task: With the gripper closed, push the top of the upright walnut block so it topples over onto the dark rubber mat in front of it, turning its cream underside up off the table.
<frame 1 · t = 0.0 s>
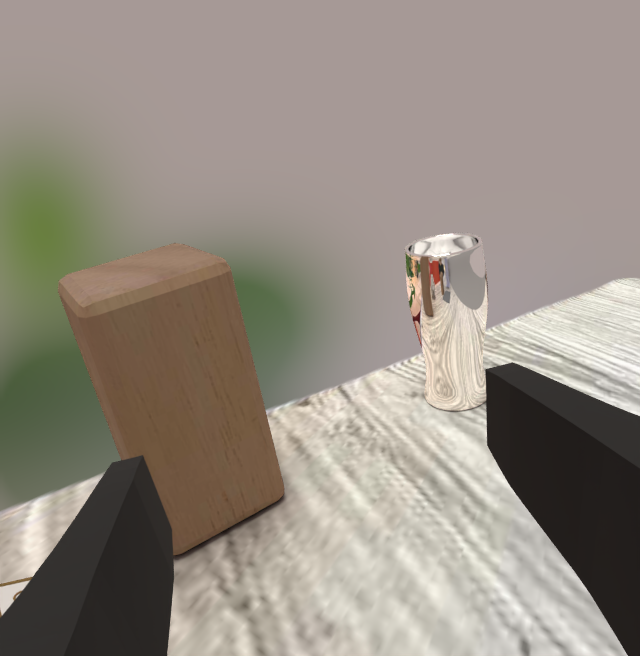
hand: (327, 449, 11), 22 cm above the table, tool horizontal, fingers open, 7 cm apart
beer glass: (456, 396, 54), on the table
block: (210, 500, 46), on the table
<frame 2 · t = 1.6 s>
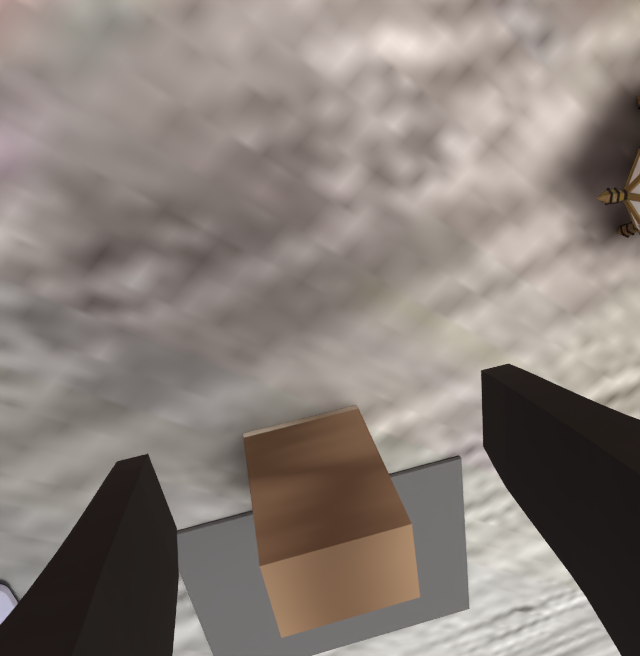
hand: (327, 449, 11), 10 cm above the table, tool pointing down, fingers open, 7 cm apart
mat: (334, 574, 28), on the table
walnut block: (307, 451, 25), on the table
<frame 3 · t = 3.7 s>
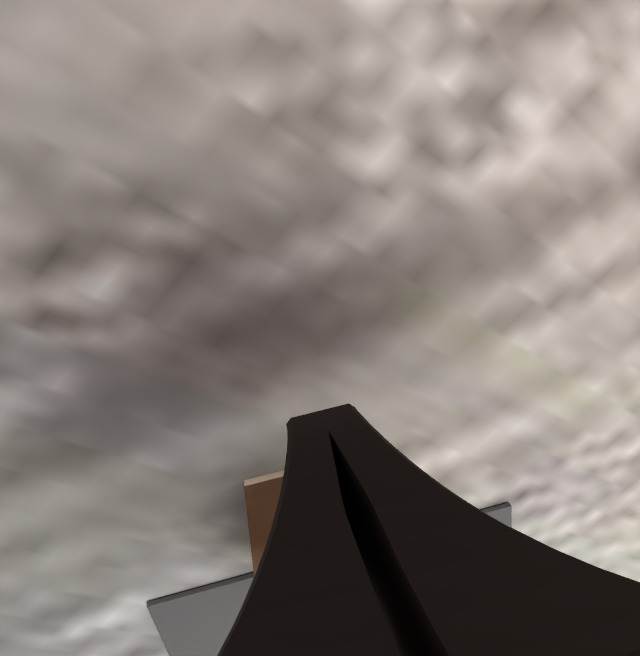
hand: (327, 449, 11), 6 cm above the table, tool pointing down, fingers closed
mat: (353, 641, 23), on the table
walnut block: (323, 500, 20), on the table
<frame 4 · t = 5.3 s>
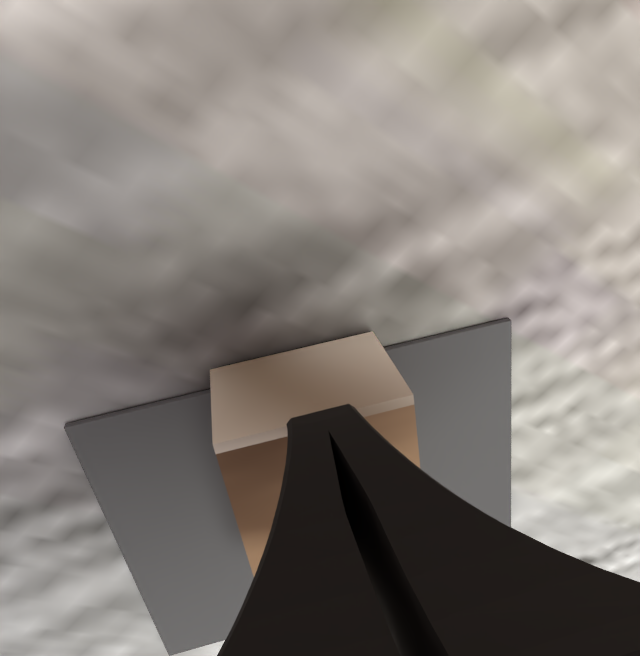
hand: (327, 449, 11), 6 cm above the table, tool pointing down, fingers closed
mat: (323, 499, 20), on the table
walnut block: (302, 380, 15), point 2 cm above the table, tilted 90°, touching mat
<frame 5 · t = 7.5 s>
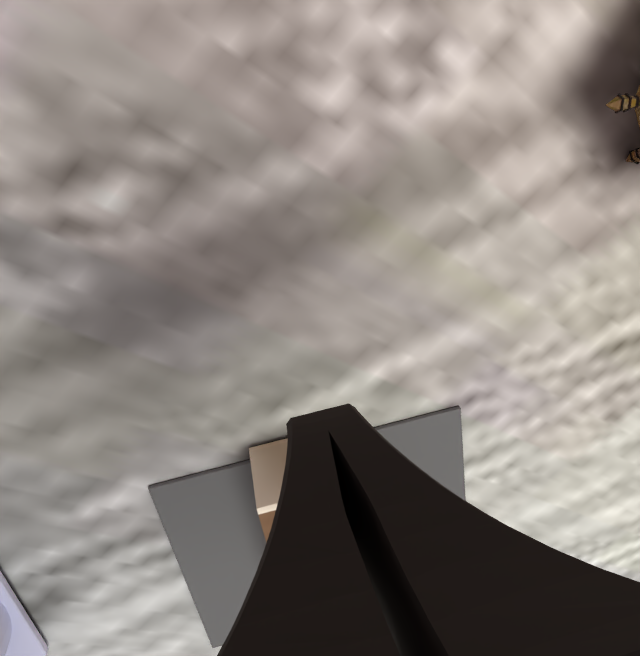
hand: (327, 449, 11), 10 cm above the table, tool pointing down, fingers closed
mat: (327, 533, 27), on the table
walnut block: (313, 460, 22), point 2 cm above the table, tilted 90°, touching mat
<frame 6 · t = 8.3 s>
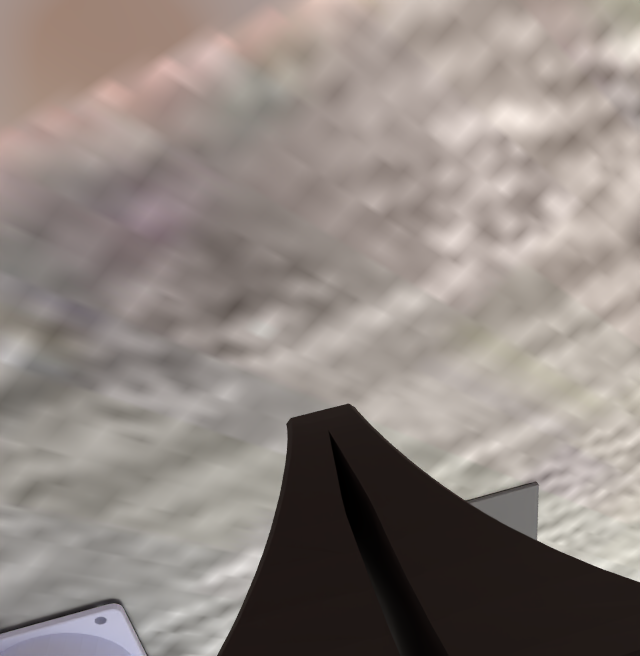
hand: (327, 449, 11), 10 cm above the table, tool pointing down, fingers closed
mat: (413, 591, 30), on the table
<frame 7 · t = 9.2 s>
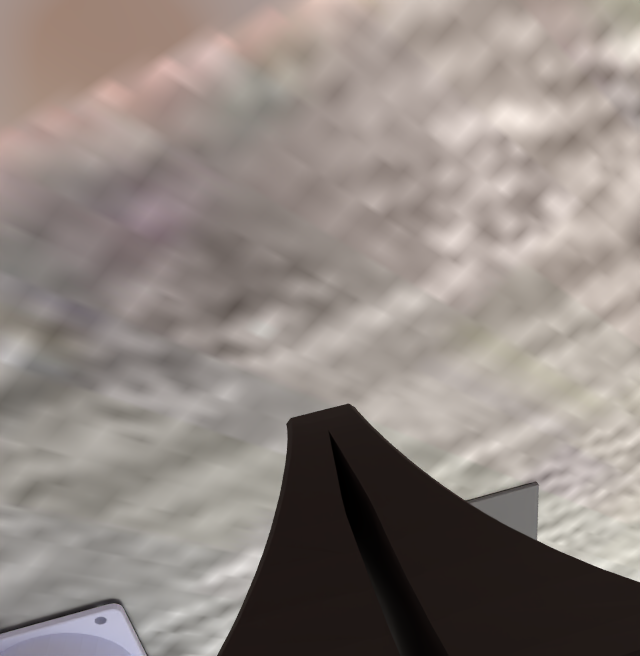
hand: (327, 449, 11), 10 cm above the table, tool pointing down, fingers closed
mat: (413, 591, 30), on the table
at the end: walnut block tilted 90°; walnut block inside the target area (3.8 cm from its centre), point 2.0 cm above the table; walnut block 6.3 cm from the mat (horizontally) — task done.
